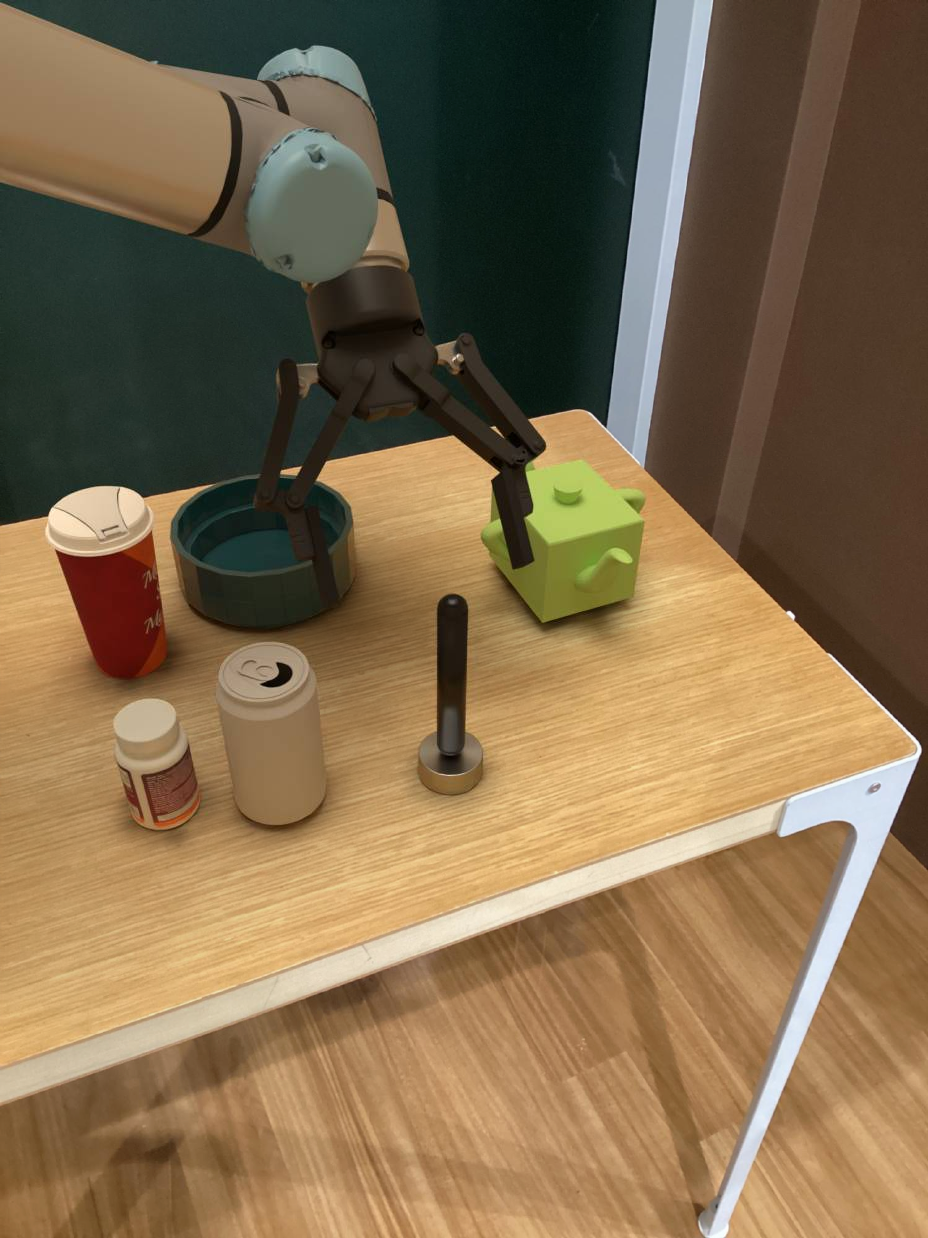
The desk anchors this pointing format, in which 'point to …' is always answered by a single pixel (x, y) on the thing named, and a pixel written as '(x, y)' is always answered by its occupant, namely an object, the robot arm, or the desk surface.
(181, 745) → the pill bottle
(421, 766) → the rod on base
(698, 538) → the desk surface
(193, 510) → the bowl
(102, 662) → the paper cup
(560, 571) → the teapot
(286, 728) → the beverage can
